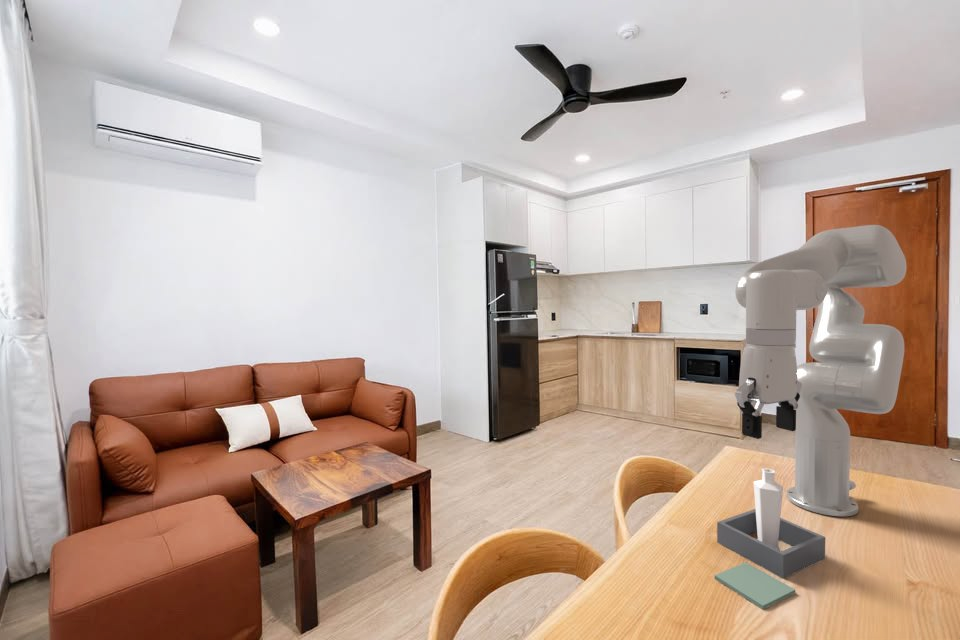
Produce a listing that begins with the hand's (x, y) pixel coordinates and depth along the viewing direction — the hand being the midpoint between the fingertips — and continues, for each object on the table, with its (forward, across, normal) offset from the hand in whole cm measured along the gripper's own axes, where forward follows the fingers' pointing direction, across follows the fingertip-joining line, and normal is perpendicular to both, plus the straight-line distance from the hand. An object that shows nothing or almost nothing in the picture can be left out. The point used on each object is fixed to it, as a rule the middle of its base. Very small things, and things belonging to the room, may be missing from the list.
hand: (769, 432), depth 78 cm
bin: (+22, -1, 0) cm, 22 cm away
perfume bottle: (+22, -1, 0) cm, 22 cm away
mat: (+22, +11, +5) cm, 25 cm away
